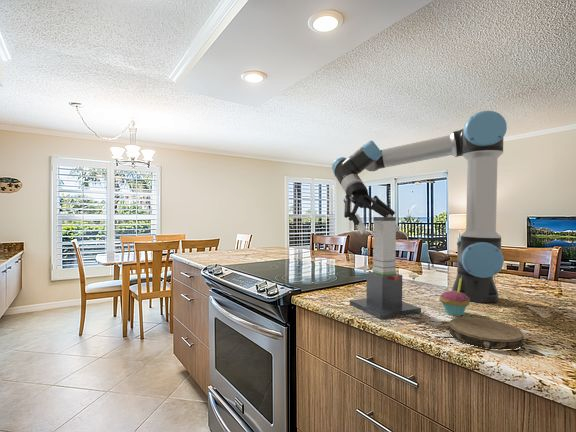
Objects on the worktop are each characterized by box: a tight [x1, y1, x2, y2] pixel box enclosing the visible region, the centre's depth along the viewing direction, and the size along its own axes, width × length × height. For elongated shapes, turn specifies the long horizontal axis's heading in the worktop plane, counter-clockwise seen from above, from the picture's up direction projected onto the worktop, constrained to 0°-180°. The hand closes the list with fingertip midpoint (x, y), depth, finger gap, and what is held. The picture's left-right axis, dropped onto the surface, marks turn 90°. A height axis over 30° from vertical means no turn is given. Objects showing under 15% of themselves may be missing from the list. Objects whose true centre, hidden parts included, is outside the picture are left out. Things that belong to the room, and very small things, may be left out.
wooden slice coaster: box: [449, 316, 524, 349], centre depth 81 cm, size 16×16×3 cm
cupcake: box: [438, 276, 471, 317], centre depth 100 cm, size 9×8×12 cm
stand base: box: [349, 271, 422, 320], centre depth 106 cm, size 16×16×12 cm
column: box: [372, 216, 397, 276], centre depth 106 cm, size 5×5×22 cm
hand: (380, 231), depth 107 cm, fingers open, 13 cm apart
